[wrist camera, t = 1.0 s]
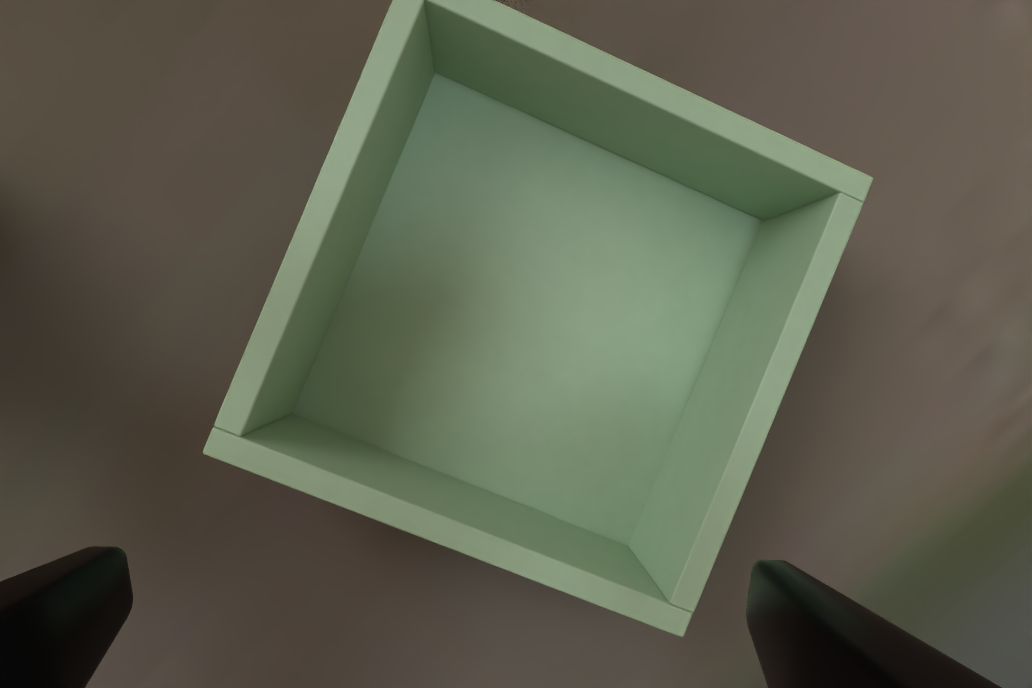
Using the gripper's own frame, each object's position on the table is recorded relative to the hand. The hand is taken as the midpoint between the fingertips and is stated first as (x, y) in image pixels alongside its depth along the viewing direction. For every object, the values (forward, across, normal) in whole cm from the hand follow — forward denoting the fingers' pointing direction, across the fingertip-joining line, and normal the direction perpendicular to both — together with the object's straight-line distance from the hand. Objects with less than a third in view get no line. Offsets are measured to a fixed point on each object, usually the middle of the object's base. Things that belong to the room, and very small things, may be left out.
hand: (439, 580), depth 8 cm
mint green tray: (+14, -2, -1) cm, 14 cm away
